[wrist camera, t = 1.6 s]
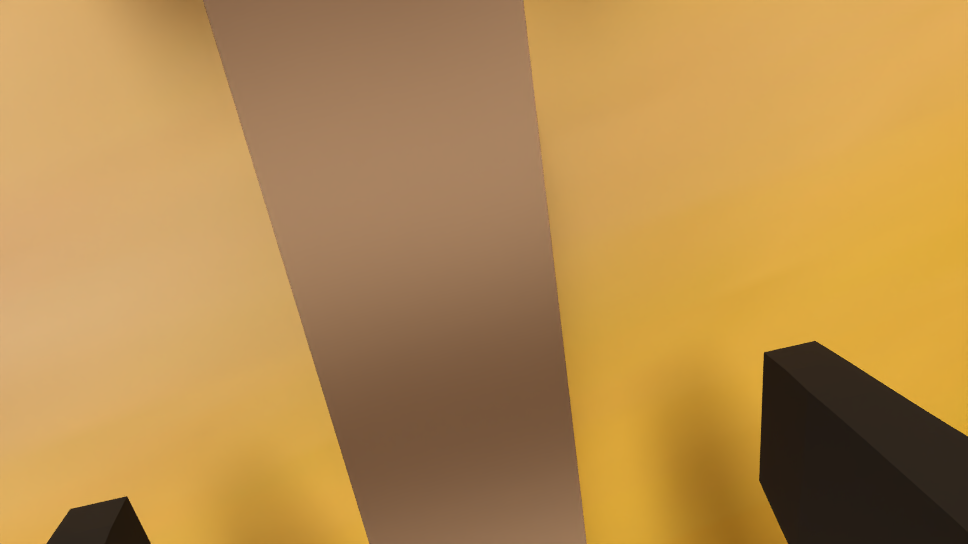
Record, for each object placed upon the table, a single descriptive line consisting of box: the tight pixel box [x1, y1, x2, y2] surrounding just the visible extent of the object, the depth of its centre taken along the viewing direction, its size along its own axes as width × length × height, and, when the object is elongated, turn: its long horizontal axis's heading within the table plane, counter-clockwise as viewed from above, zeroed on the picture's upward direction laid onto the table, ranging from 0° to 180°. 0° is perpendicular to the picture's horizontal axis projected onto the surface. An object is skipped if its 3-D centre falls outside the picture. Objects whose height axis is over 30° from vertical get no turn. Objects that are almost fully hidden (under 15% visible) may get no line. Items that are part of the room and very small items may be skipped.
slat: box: [203, 0, 587, 544], centre depth 12 cm, size 10×2×5 cm, turn 8°
